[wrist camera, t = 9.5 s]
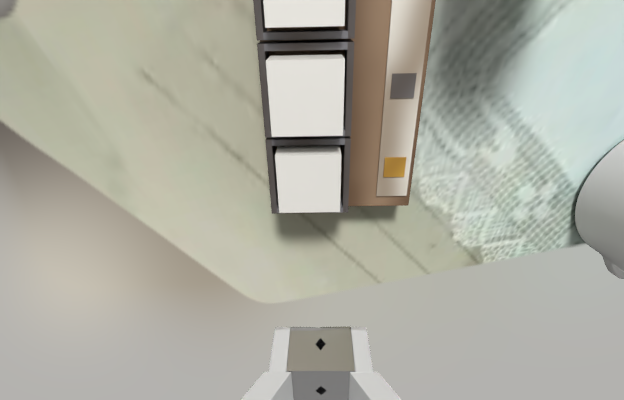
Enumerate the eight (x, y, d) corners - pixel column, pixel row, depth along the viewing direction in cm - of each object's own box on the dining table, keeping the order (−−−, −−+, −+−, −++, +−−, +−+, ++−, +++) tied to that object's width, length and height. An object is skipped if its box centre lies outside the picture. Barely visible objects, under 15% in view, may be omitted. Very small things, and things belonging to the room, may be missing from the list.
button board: (431, -82, 22) (461, -105, 17) (400, 188, 31) (414, 218, 26) (257, -77, 22) (242, -100, 17) (277, 190, 31) (271, 220, 27)
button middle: (341, 54, 21) (345, 58, 19) (340, 124, 23) (343, 135, 21) (270, 55, 21) (265, 60, 19) (275, 125, 23) (271, 136, 21)
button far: (339, 142, 25) (341, 154, 23) (337, 195, 27) (340, 212, 25) (278, 143, 25) (275, 155, 23) (282, 196, 27) (279, 212, 25)
